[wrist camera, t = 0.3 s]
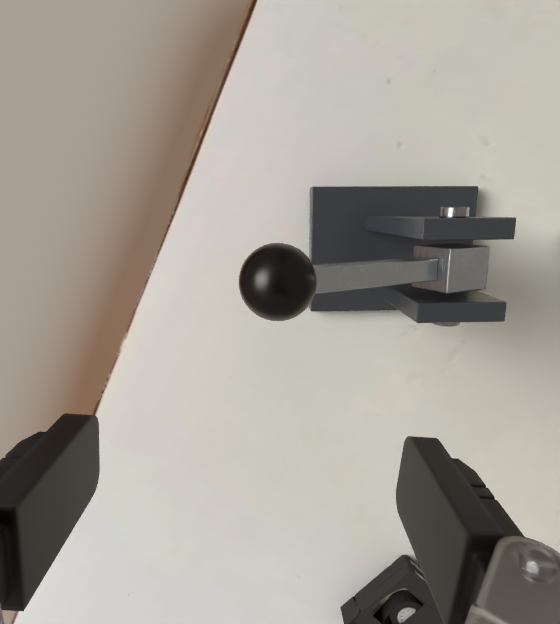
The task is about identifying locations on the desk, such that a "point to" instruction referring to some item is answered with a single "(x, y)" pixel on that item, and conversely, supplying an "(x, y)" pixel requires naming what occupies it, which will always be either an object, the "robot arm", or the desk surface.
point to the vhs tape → (394, 598)
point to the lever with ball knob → (353, 275)
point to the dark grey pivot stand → (401, 245)
